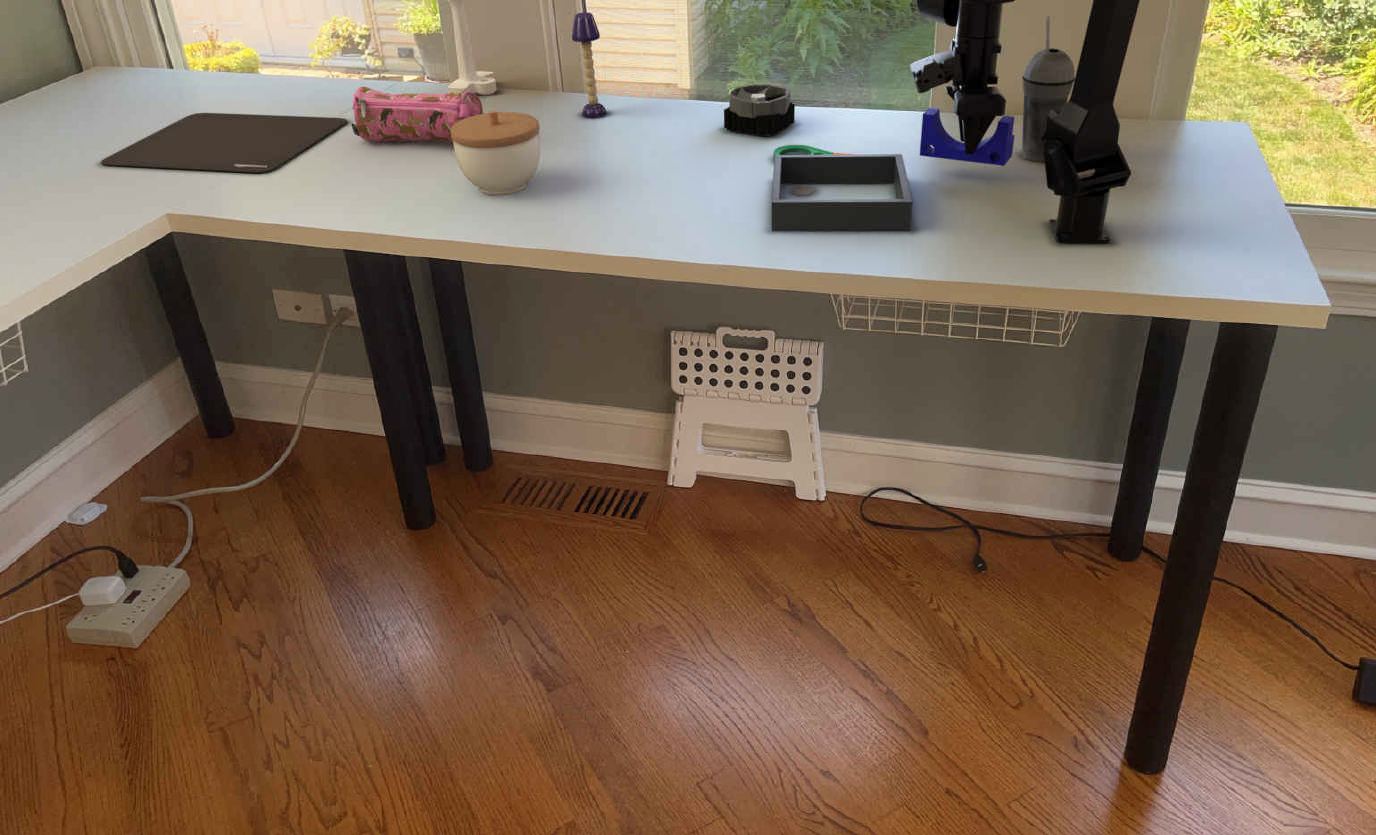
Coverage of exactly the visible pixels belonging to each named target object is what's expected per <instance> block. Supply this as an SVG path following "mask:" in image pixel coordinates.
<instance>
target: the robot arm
mask: <svg viewBox="0 0 1376 835" xmlns="http://www.w3.org/2000/svg"><path fill="white" fill-rule="evenodd" d="M1015 1H1016V0H916V2H915V3H916V9H917V12H918V14H919V16H921V18H923V19H926V20H928V21H931V22H935V23H939V24H942V25H945V26H948V27H951V28H952V27H953V28H956V29H955V37H954V36H953V37H952V40H950V46H949V49H948V50H944V51H941V52H937V53H933V54H932V55H929V56H927V57H924V58H922V59H918V60H916V61H913V62H912V63H911V64H910V65H909V67H910V70H911V73H912V78H913V81H914V83H915V84H914V85H915V87H916V90H917V93H918V94H924V93H927V92H929V91H930V90H931V89H934V88H937V87H939V86H943V85H945V84H950V83H949V82H951V85H949V86H945V91H946V94H947V95H948V96H949V97H950V98H951V99H952V101H953V105H952V106H951V107H952V110H953V113H954V114H955V115H956V116H957V123H958V130H959V131H958V132H959V138H960V142H962V143H964V146H965V153H966V154H974V152H975V150H976V149H977V147H978V145H979V143H980V142H981V140H983V138H984V137H985V136H986V133H987V132H988V130H989V128H990V126H991V125H992V124H993V122H994V121H995V119H996V117H1001V116H1002V117H1003V116H1006V115H1005V113H1006V105H1007V100H1006V97H1005V96H1004V93H1003V92H1002V91H1001V90H1000V89H999V88H998V87H997V86H988V85H998V82H999V76H998V74H997V66H998V65H997V64H998V57H999V56H998V55H999V54H1002V44H1001V42H1000V37H1001V29H1002V28H1001V27H1002V17H1003V8H1004V4H1008V3H1014V2H1015ZM1139 5H1140V0H1092V4H1091V9H1090V13H1089V16H1088V21H1087V26H1086V30H1085V34H1084V39H1083V42H1082V43H1083V44H1082V47H1081V52H1080V55H1079V59H1078V65H1077V68H1076V72H1075V76H1074V77H1075V80H1074V82H1073V85H1072V88H1071V93H1070V97H1069V98H1068V100H1067V103H1066V105H1065V106H1063V107H1059V108H1054V109H1051V110H1050V112H1049V114H1048V116H1047V125H1046V130H1045V133H1044V135H1043V137H1042V138H1041V141H1045V143H1044V147H1043V157H1044V161H1043V162H1044V169H1045V170H1044V172H1045V179H1046V187H1047V189H1049V190H1051V191H1053V195H1055V196H1059V204H1058V209H1057V217H1056V219H1055V218H1054V219H1049V220H1048V222H1047V223H1048V226H1049V228H1050V231H1051V232H1052V234H1053V237H1054V239H1055V241H1056V242H1057V243H1060V244H1062V243H1063V244H1066V243H1067V244H1079V243H1080V244H1107V243H1110V242H1111V239H1112V238H1111V236H1110V235H1109V232H1108V231H1107V228H1105V222H1106V221H1105V220H1106V215H1107V209H1108V204H1109V199H1110V192H1111V189H1115V188H1119V187H1121V188H1122V187H1125V186H1126V185H1127V183H1128V181H1129V179H1130V178H1131V176H1132V171H1131V168H1130V166H1129V164H1128V162H1127V160H1126V157H1125V155H1124V153H1123V151H1122V149H1121V147H1120V144H1119V137H1120V130H1121V128H1120V127H1121V123H1120V120H1119V117H1118V113H1117V112H1116V109H1115V106H1114V102H1115V99H1116V94H1117V90H1118V86H1119V82H1120V79H1121V78H1120V77H1121V75H1122V70H1123V67H1124V63H1125V60H1126V56H1127V52H1128V47H1129V44H1130V40H1131V37H1132V32H1133V28H1134V24H1135V20H1136V16H1137V12H1138V9H1139ZM1092 170H1094V171H1092ZM1088 171H1092V172H1088ZM1085 172H1087V173H1085ZM1081 173H1083V174H1081Z"/></svg>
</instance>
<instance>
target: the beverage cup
mask: <svg viewBox="0 0 1376 835" xmlns="http://www.w3.org/2000/svg"><path fill="white" fill-rule="evenodd" d="M1050 19H1051V18H1050V16H1046V17H1045V47H1044V48H1045V49H1042V50H1039V51H1038V52H1037V53H1035V54H1034V55H1032V57H1031V58H1030V59H1029V61H1028V62H1027V64H1026V66H1025V69H1024V71H1023V75H1022V77H1021V79H1022V92H1023V114H1022V117H1023V118H1022V136H1021V137H1022V138H1021V146H1022V155H1021V156H1022V158H1024V159H1026V160H1028V161H1034V162H1044V157H1043V147H1044V143H1045V141H1041V138H1042V137H1043V135H1044V133H1045V130H1046V125H1047V116H1048V114H1049V112H1050V110H1051V109H1054V108H1059V107H1063V106H1065V105H1066V103H1067V102H1068V100H1069V96H1070V95H1071V92H1072V89H1073V85H1074V81H1075V77H1076V76H1075V66H1074V63H1073V60H1072V59H1071V57H1070V56H1069V55H1068V54H1067V53H1066V52H1065V51H1063V50H1062V49H1058V48H1055V47H1054V48H1053V47H1052V48H1051V47H1050V32H1051V30H1050V27H1051V26H1050V22H1051V21H1050Z"/></svg>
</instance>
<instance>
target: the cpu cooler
mask: <svg viewBox="0 0 1376 835" xmlns="http://www.w3.org/2000/svg"><path fill="white" fill-rule="evenodd" d="M795 107H796V105H795V104H794V103H793V101H791V90H789V89H788V88H786V87H785V86H781V85H775V84H764V83H763V84H761V83H760V84H759V83H758V84H757V83H756V84H749V85H743V86H737V87H734V88H733V90H731V91H730V92H729V106H727V107H726V108H724V109H723V128H724V129H726V131H727V132H728V131H729V132H734V133H740V134H741V133H742V134H748V135H755V136H760V137H768V136H773V137H774V136H776V135H777V134H779V133H781V132H782V131H784V130H785V129H787V128H789V127H790V126H792V125H793V124H795V112H796V111H795V110H796V108H795Z"/></svg>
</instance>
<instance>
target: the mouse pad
mask: <svg viewBox="0 0 1376 835" xmlns="http://www.w3.org/2000/svg"><path fill="white" fill-rule="evenodd" d="M347 122H348V120H347V119H346V118H344V117H343V118H341V117H326V116H325V117H321V116H299V115H297V116H296V115H273V114H271V115H270V114H249V113H248V114H246V113H245V114H244V113H223V112H221V113H220V112H219V113H218V112H197V113H192V114H189V115H187V116H185V117H183V118H182V119H179V120H177V121H176V122H173V123H171V124H169V125H168V126H165V127H163V128H161V129H160V130H158V131H156V132H153V133H152V134H150V135H148V136H146V137H144V138H142V139H140V140H138V141H136V142H134V143H132V144H130V145H129V146H126V147H125V148H122V149H120V150H118V151H117V152H115V153H113V154H111V155H108V156H107V157H105V158H103V159H102V160H101V161H100V163H101V164H102V165H104V166H115V167H133V168H155V169H171V170H172V169H174V170H191V171H192V170H193V171H211V172H231V173H232V172H233V173H248V174H249V173H251V174H255V173H256V174H259V173H260V174H261V173H267V172H272V171H274V170H276V169H277V168H279V167H281V166H282V165H283V164H285V163H286V162H288V161H290V160H291V159H292V158H294V157H296V156H297V155H299V154H301V153H302V152H303V151H305V150H307V149H308V148H310V147H311V146H313V145H314V144H316V143H317V142H319V141H321V140H323V139H324V138H325V137H327V136H329V135H330V134H331V133H333V132H334V131H336V130H338V129H339V128H341V127H342V126H344V125H345V124H347Z"/></svg>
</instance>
